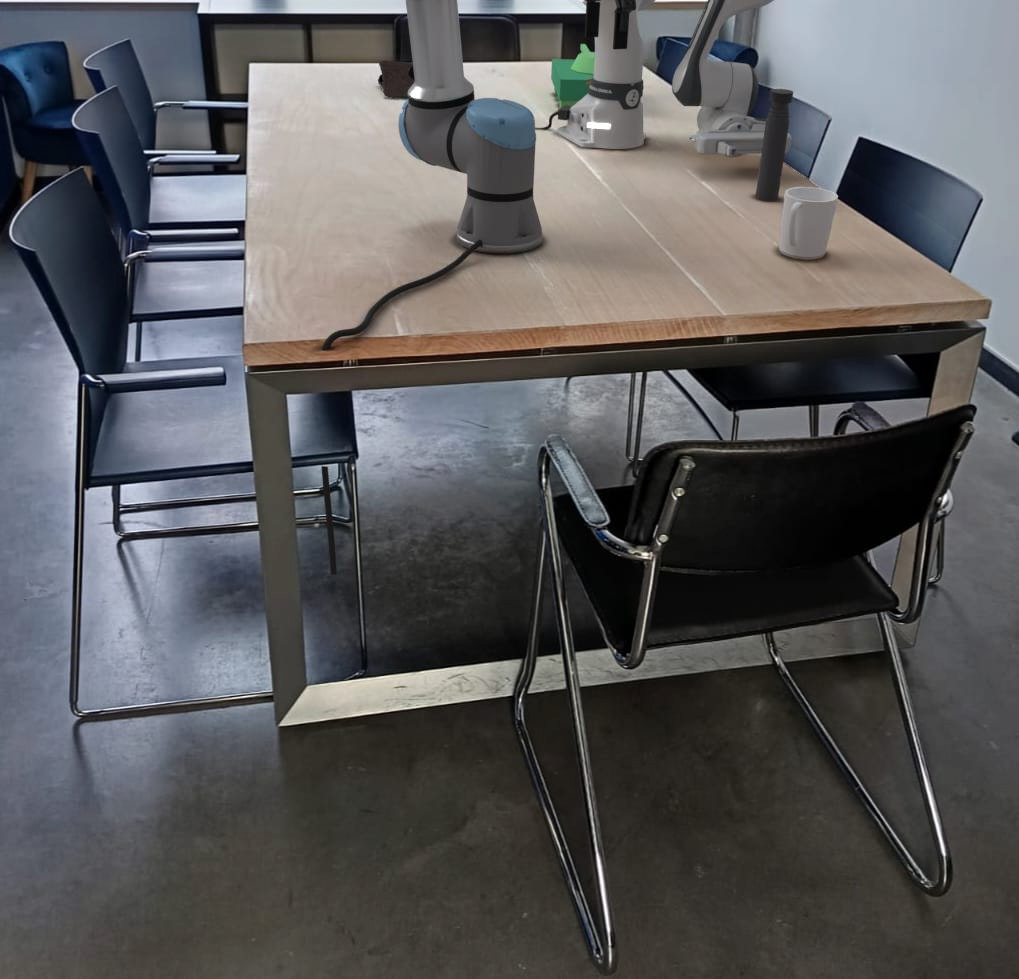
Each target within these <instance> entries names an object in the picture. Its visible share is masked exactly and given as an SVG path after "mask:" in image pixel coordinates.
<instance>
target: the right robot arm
mask: <svg viewBox="0 0 1019 979" xmlns="http://www.w3.org/2000/svg"><path fill="white" fill-rule="evenodd" d="M774 1H775V0H707V2H706V3H705V6H704V8H703V11H702V12H701V15H700V17H699V19H698V23H697V25H696V26H695V29H694V31H693V34H692V36H691V38H690V41H689V43H688V45H687V47H686V50H685V52H684V54H683V56H682V57H681V59H680V61H679V62H678V64H677V66H676V69H675V71H674V73H673V77H672V81H671V91H672V95H674V97H675V99H676V101H677V102H679V103H680V105H682V106H683V107H701V108H700V109H699V111H698V112H697V115H696V125H697V128H698V130H697V131H696V133H694V135H689V141H691V142H692V143H694V148H695V150H696V151H697V153H698V154H700V155H705V156H709V155H710V156H711V155H722V156H725V157H727V158H738V157H740V156H745V155H752V154H753V155H755V154H760V155H761V153H762V146H763V138H764V131H765V124H766V119H767V118H760V117H752V116H750V115H751V113H752V111H753V110H754V108H755V106H756V103H757V100H758V96H759V89H760V88H759V87H760V85H759V79H758V77H757V74H756V71H755V70H754V69H753V67H752V66H751V65H750V64H749V63H741V62H736V61H722V60H714V59H708V57H709V55H710V52H711V51H712V48H713V46H714V43H715V41H716V39H717V36H718V35H719V32H720V30H721V28H722V26H723V25H724V23H725V22H727V21H728V20H729V19H730V18H732V17H734V16H736V15H739V14H742V13H744V12H747V11H752V10H756V9H759V8H763V7H765V6H767V5H769V4H771V3H772V2H774ZM596 2H600V16H599V34H598V37H594V52H595V59H594V77H593V78H592V79H587V80H586V81H591V82H588V83H586V85H589V84H590V86H589V89H588V92H587V93H588V94H587V95H586V96H584V97H583V98H582V99H581V100H580V101H578V102H577V103H576V104H575V105H573V106H568V105H566V106H564V107H562V108H560V107H559V109H557V111H555V112H553V113H552V114H551V115H550V116H549V119H548V125H546V126H544V127H535V130H540V131H541V130H543V131H547V130H549V129H551V127H552V124H553V118H555V116H557V120H560V121H567V122H566V125H563V126H560V127H559V128H557V129H556V133H557V134H558V135H559V136H561V137H563V138H564V139H567V140H569V141H571V142H572V143H573V144H575V145H576V146H579V147H581V148H598V149H604V150H605V149H607V150H627V149H635V148H638V147H641V146H643V145H644V144H645V139H646V138H647V134H646V133H645V132H644V103H643V101H642V98H643V96H644V95H643V94H644V89H645V88H644V87H645V86H644V79H643V71H644V70H643V69H644V57H645V56H644V55H645V42H644V40H643V38H642V36H641V33H640V28H639V23H638V22H639V21H638V12H639V11H643V10H645V9H646V8H649V7H650V6H651V5H653V3H655V2H656V0H636V10H633V11H631V13H629V28H628V42H627V49H615V50H614V49H613V36H614V21H615V13H614V11H615V10H616V8H617V6H616V2H615V0H601V1H596ZM583 3H584V5H585V6H586V1H585V0H583ZM630 3H631V2H630ZM398 96H399V97H400V98H399V99H406V100H407V99H408V96H404V95H398ZM393 98H394V99H395V97H393ZM792 140H793V139H792V135H791V134H790V132H788V134H787V141H786V148H785V154H788V153H789V152H790V150H791V147H792Z"/></svg>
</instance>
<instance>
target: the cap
mask: <svg viewBox="0 0 1019 979" xmlns="http://www.w3.org/2000/svg"><path fill="white" fill-rule="evenodd" d="M768 98H769V99H768V100H769V102H770V103H772V102H774V103H782V104H786V103H789V104H791V103H792V102H793V98H794V91H793V90H790V89H787V88H773V89H770V92H769V97H768Z"/></svg>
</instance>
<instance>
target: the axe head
mask: <svg viewBox="0 0 1019 979" xmlns="http://www.w3.org/2000/svg"><path fill="white" fill-rule="evenodd" d="M378 66H379V68H380V72H381V74H379V75H378V79H377V84H378V85H379V86H380V87H381V88H382V89H383V95H384V96H385V97H388V98H394V97H395V98H396V99H401V98H400V97H399V96H398V95H404V96H408V90H409V89H410V87H411V86H412V85H413V84H414V82H415V77H414V68H413V62H410V61H408V62H407V61H397V60H388V59H387V60H380V61H379V62H378ZM395 98H394V99H395Z"/></svg>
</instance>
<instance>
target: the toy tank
mask: <svg viewBox="0 0 1019 979" xmlns="http://www.w3.org/2000/svg"><path fill="white" fill-rule="evenodd" d="M579 48H580V51H581V52H580V53H579V54H577V56H576V58H575V59H572V58H571V59H569V58H568V59H567V58H566V59H565V58H564V59H563V58H552V59H551V72H550V80H551V82H552V85H553V89H554V91H553V92H554V95H557V100H558V104H559V109H560V108H562V107H564V106H566V105H568V106H573V105H575V104H576V103H577V102H578V101H580V100H581V99H582V98H583V97H584V96H586V95H587V94H588V93H587V92H588V89H589V86H590V84H589V85H586V83H588V82H591V81H586V80H587V79H592V78H593V77H594V59H595V51H590V49H589V48H588V45H587V44H586V43H580V47H579Z"/></svg>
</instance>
